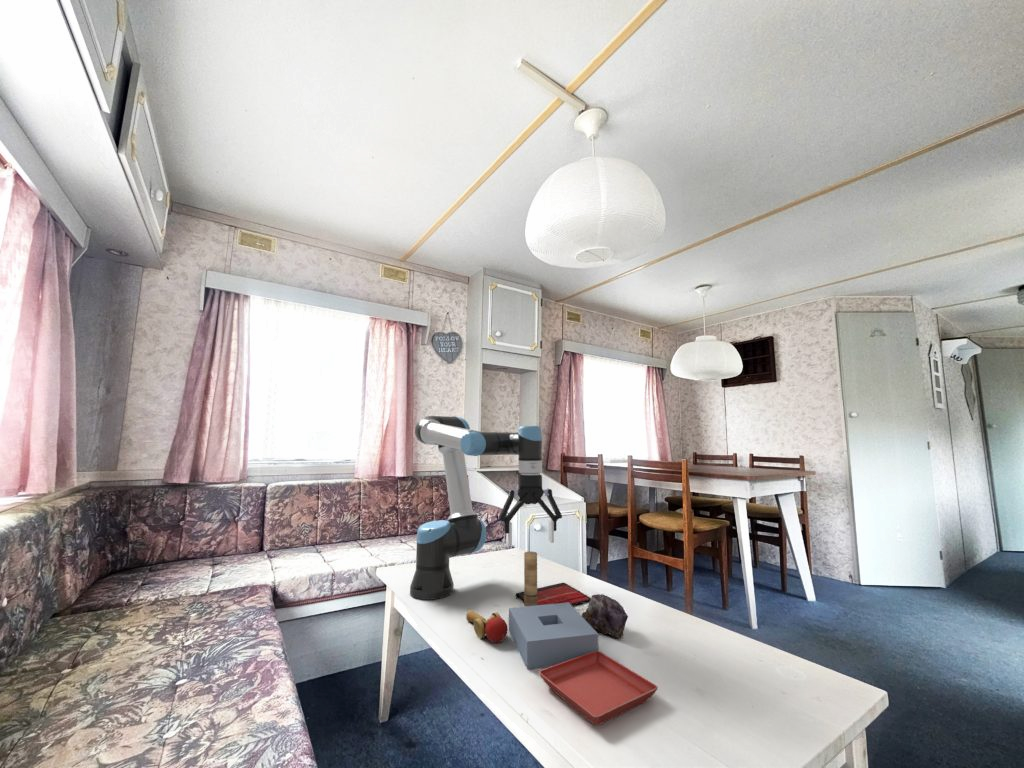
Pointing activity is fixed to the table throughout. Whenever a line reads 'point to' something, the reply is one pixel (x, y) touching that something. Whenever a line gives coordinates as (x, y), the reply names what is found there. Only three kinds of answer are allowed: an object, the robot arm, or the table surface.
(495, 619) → the kendama
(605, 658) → the plant saucer
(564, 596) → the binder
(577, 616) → the board
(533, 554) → the peg
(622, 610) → the rock
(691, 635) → the table surface
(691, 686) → the table surface
